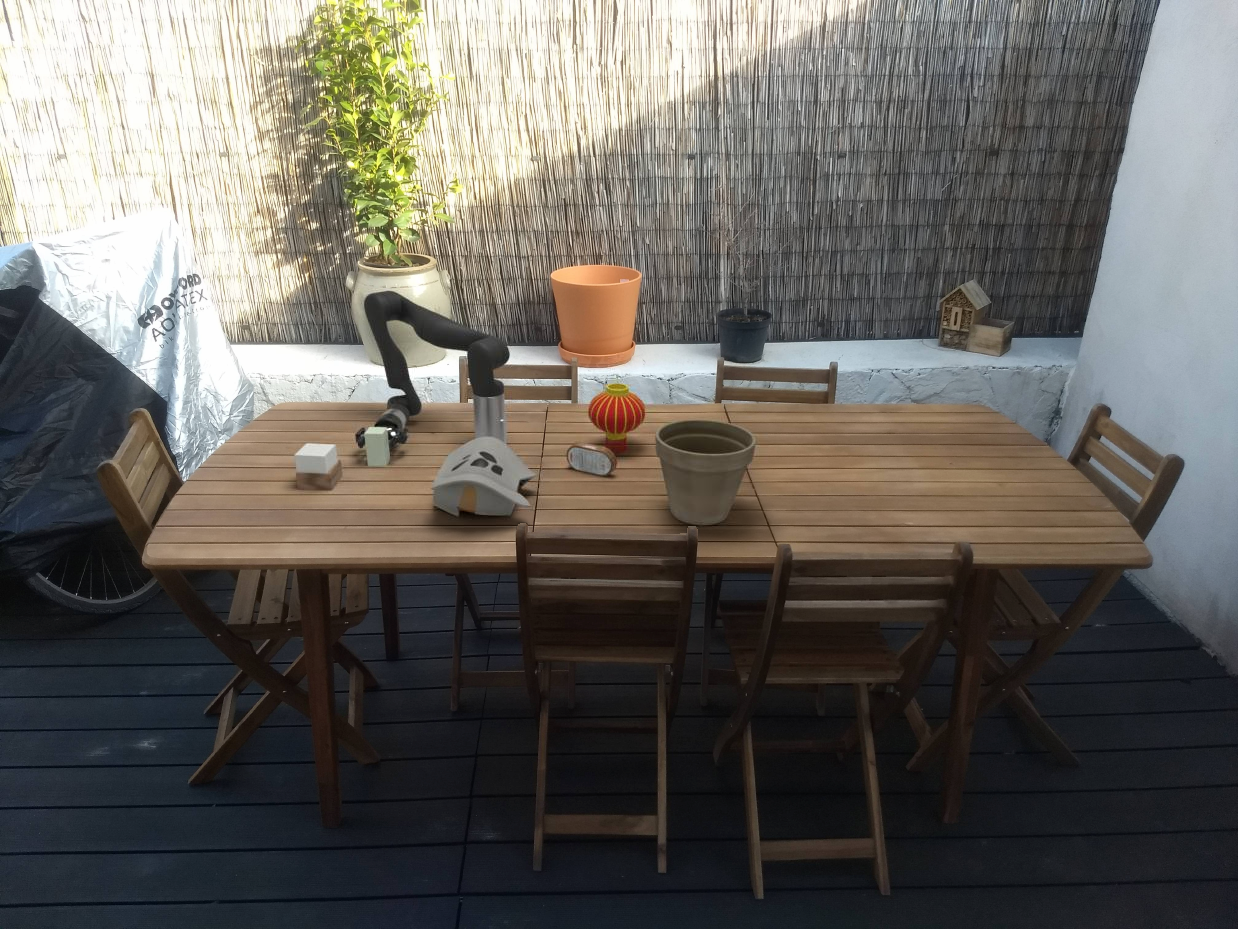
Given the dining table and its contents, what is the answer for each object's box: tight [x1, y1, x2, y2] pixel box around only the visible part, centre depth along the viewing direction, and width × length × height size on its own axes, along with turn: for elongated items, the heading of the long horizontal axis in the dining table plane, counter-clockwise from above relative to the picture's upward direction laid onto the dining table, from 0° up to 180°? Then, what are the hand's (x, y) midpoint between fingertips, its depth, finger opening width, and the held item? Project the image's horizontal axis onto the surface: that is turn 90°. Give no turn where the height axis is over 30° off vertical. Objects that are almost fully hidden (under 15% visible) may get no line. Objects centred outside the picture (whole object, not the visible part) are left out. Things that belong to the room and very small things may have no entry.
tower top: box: [294, 442, 338, 474], centre depth 214 cm, size 8×8×5 cm
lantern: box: [587, 353, 646, 454], centre depth 237 cm, size 17×17×30 cm
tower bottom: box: [295, 459, 343, 491], centre depth 216 cm, size 9×9×5 cm
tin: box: [565, 441, 618, 477], centre depth 226 cm, size 15×3×8 cm, turn 65°
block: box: [364, 426, 391, 468], centre depth 228 cm, size 5×5×10 cm
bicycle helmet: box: [430, 437, 539, 517], centre depth 205 cm, size 28×26×16 cm
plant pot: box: [654, 418, 757, 526], centre depth 202 cm, size 25×25×22 cm
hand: (375, 445), depth 226 cm, fingers open, 8 cm apart
